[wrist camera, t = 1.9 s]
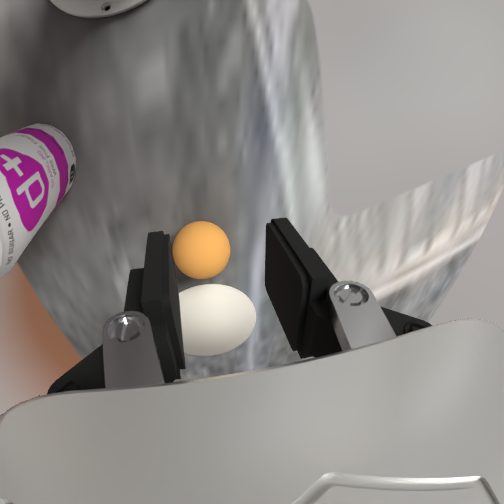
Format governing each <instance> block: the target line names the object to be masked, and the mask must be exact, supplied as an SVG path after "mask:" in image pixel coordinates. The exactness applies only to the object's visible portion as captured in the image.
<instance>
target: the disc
mask: <svg viewBox="0 0 504 504" xmlns="http://www.w3.org/2000/svg"><path fill="white" fill-rule="evenodd" d="M179 301H180V314H181V326H182V337H183V348H184V353H186V354H190V355H195V356H213V355H218V354H222V353H225V352H228V351H230V350H232V349H234V348H236V347H237V346H239V345H240V344H241V343H243V342H244V341H245V340H246V339H247V338H248V337H249V335H250V334H251V332H252V331H253V329H254V326H255V323H256V311H255V308H254V305H253V303H252V302H251V300H250V299H249V298H248V297H247V296H246V295H245V294H244V293H243V292H241V291H239V290H238V289H236V288H233V287H231V286H227V285H222V284H202V285H197V286H193V287H190V288H187V289H185V290H183V291H181V292H179Z"/></svg>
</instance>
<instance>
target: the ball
mask: <svg viewBox="0 0 504 504" xmlns="http://www.w3.org/2000/svg"><path fill="white" fill-rule="evenodd" d="M172 251H173V258H174V261H175V263H176V265H177V267H178V268H179V269H180V270H181V271H182V272H183V273H184V274H186V275H187V276H189V277H191V278H195V279H208V278H211V277H213V276H215V275H217V274H218V273H220V272H221V271H222V270H223V269H224V267H225V266H226V264H227V262H228V260H229V256H230V244H229V240H228V238H227V236H226V234H225V233H224V232H223V231H222V229H220V228H219V227H218V226H216V225H215V224H213V223H210V222H206V221H197V222H193V223H190V224H188V225H186V226H185V227H183V228H182V229H181V230H180V231H179V232H178V234H177V235H176V237H175V240H174V242H173V249H172Z"/></svg>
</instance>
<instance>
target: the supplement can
mask: <svg viewBox="0 0 504 504" xmlns="http://www.w3.org/2000/svg"><path fill="white" fill-rule="evenodd" d="M75 174H76V157H75V154H74V151H73V148H72V144H71V143H70V141H69V140H68V139H67V138H66V136H65V135H64V133H63V132H61V131H60V130H58V129H56V128H55V127H53V126H52V125H47V124H40V123H37V124H33V125H30V126H26V127H24V128H21V129H19V130H17V131H14V132H12V133H10V134H7V135H5V136H3V137H1V138H0V278H1V277H3V276H4V275H5V274H7V273H8V272H10V271H11V269H12V268H13V266H14V265H15V263H16V262H17V260H18V259H19V257H20V256H21V254H22V253H23V251H24V250H25V248H26V247H27V245H28V244H29V242H30V241H31V240H32V238H33V237H34V235H35V234H36V233H37V231H38V230H39V228H40V227H41V226H42V224H43V223H44V222H45V220H46V219H47V218H48V216H49V215H50V214H51V213H52V211H53V210H54V209H55V207H56V206H57V205H58V204H59V202H60V201H61V200H62V199H63V197H64V196H65V195H66V193H67V192H68V191H69V189H70V188H71V187H72V184H73V180H74V177H75Z"/></svg>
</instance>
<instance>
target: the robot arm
mask: <svg viewBox="0 0 504 504" xmlns="http://www.w3.org/2000/svg"><path fill="white" fill-rule="evenodd" d="M50 1H51V2H52V3H53V4H54V5H55V6H56V7H57V8H59V9H60V10H62V11H64V12H65V13H68V14H70V15H73V16H76V17H82V18H102V17H109V16H113V15H116V14H120V13H123V12H126V11H128V10H130V9H132V8H135V7H137V6H139V5H140V4H142V3H144V2H145V1H147V0H50ZM107 7H111V8H110V9H109V10H108V11H106V8H107ZM265 287H266V291H267V293H268V295H269V298H270V300H271V302H272V305H273V307H274V309H275V311H276V314H277V316H278V318H279V321H280V323H281V325H282V328H283V330H284V332H285V334H286V337H287V339H288V341H289V344H290V346H291V348H292V350H293V351H296V350H297V351H298V353H299V355H300V357H301V359H302V358H307V357H311V356H314V357H316V358H312V359H308V360H303V361H299V362H294V363H289V364H284V365H280V366H274V367H269V368H264V369H259V370H253V371H248V372H242V373H236V374H229V375H223V376H217V377H210V378H203V379H195V380H188V381H180V382H173V381H174V380H175V379H181V376H180V369H185V368H186V367H185V357H184V348H183V337H182V326H181V314H180V301H179V293H178V288H177V282H176V276H175V269H174V263H173V257H172V250H171V243H170V236H169V234H166V235H164V233H163V231H159V232H150V233H148V238H147V246H146V255H145V264H144V268H140V269H132V270H130V275H129V281H128V287H127V294H126V301H125V308H124V312H121V313H118V314H116V315H114V316H113V317H111V318H110V319H109V320H108V321H107V322H106V323H105V325H104V327H103V332H102V335H103V344H102V345H101V346H100V347H98V348H97V349H96V350H94V351H93V352H92V353H91V354H89V355H88V356H87V357H85V358H84V359H83V360H82V361H80V362H79V363H78V364H76V366H74V367H73V368H71V369H70V370H69V371H68V372H66V373H65V374H64V375H63V376H61V377H60V378H59V379H57V380H56V381H55V382H54V383H53V384H52V385H51V387H50V388H49V390H48V393H47V395H43V396H38V397H35V398H32V399H30V400H26V401H24V402H21V403H19V404H17V405H15V406H13V407H12V408H10V409H9V410H7V411H6V412H5V413H4V414H1V415H0V504H504V330H503V329H502V328H501V327H500V326H498V325H497V324H495V323H493V322H490V321H486V320H480V319H462V320H454V321H449V322H445V323H440V324H437V325H433V326H432V325H431V324H429V323H428V322H425V321H423V320H420V319H417V318H414V317H411V316H408V315H405V314H402V313H399V312H396V311H392V310H389V309H386V308H383V307H380V305H379V304H378V302H377V300H376V298H375V297H374V295H373V293H372V292H371V290H370V289H369V288H368V287H366V286H365V285H363V284H361V283H358V282H354V281H341V282H338V281H337V279H336V278H335V277H334V275H333V274H332V273H331V271H330V270H329V269H328V267H327V266H326V265H325V263H324V262H323V261H322V259H321V258H320V257H319V255H318V254H317V253H316V251H315V250H314V249H313V248H309V247H308V245H307V244H306V243H305V241H304V240H303V239H302V237H301V236H300V235H299V233H298V232H297V231H296V229H295V228H294V227H293V225H292V224H291V223H290V221H289V220H288V219H287V218H278V219H272V220H271V223H267V224H266V254H265Z"/></svg>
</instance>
